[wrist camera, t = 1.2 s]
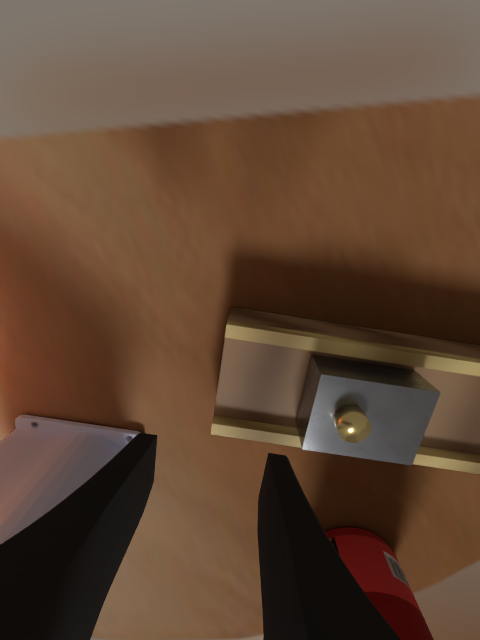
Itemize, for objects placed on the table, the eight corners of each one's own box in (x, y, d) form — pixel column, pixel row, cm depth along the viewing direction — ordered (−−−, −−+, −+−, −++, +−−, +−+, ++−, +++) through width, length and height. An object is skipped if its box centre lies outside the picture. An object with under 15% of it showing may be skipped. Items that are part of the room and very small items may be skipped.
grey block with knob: (295, 420, 18) (304, 460, 15) (311, 353, 17) (325, 382, 14) (390, 434, 18) (419, 477, 15) (414, 369, 17) (451, 401, 14)
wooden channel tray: (217, 399, 21) (210, 434, 18) (230, 306, 19) (226, 324, 16) (461, 436, 22) (503, 477, 18) (499, 348, 20) (556, 374, 16)
